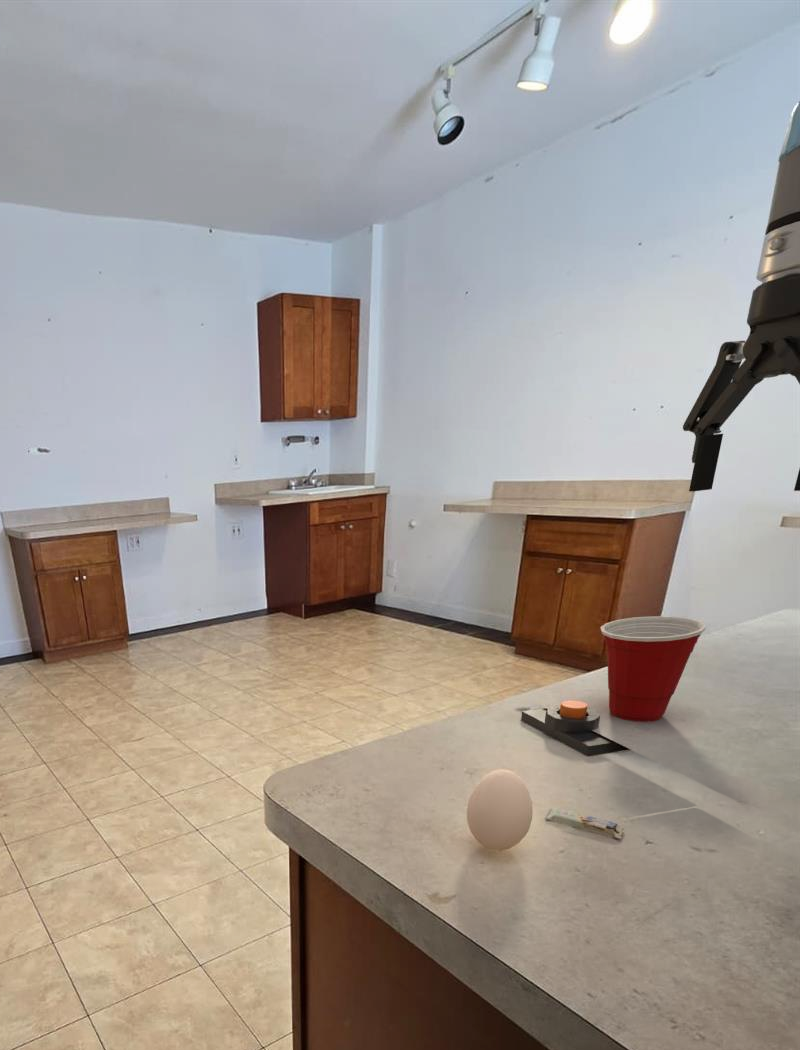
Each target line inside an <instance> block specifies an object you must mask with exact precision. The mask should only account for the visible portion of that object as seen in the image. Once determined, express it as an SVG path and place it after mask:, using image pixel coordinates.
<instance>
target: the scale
mask: <svg viewBox="0 0 800 1050" xmlns="http://www.w3.org/2000/svg"><path fill="white" fill-rule="evenodd" d="M560 706H561V705H555V706H551V707H549V708H546V707H544V708H537V709H530V710H522V711H521V716H520V717H521V718H520V721H521V722H523V723H525V724H527V725H528V726H531V727H532V728H534V729H536V730H537V731H540V732H542V733H543V734H545V735H547V736H549V737H550V738H552V739H554V740H556V741H558V742H560V743H561V744H564V745H565V746H567V747H569V748H570V749H572V750H574V751H577V752H578V753H580V754H582V755H584V756H586V757H593V756H599V755H606V754H612V753H617V752H619V753H620V752H624V751H631V750H632V749H631V748H629V747H627V746H624V745H623V744H620V743H619V742H616V741H614V740H612V739H611V738H608V737H606V736H604V735H603V734H600V733H598V732H596V731H595V730H596V729H597V728H598V727H599V724H600V720H601V715H600V713H599V712H598V711H596V710H594V709H592V708H589V707H587V713H586V717H585V718H568V717H563V716H561V715H559V712H560Z"/></svg>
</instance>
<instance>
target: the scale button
mask: <svg viewBox="0 0 800 1050" xmlns="http://www.w3.org/2000/svg"><path fill="white" fill-rule="evenodd" d="M559 706H560V712H559V715H561V716H563V717H568V718H585V717H586V713H587V708H589V706H588V704H587V703H586V702H584V701H580V700H564V701H561V702H560V705H559Z"/></svg>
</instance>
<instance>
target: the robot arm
mask: <svg viewBox="0 0 800 1050" xmlns="http://www.w3.org/2000/svg"><path fill="white" fill-rule="evenodd" d="M768 214H769V216H768V219H767V224H766V225H767V226H766V229H765V234H764V239H763V242H762V247H761V253H760V258H759V262H758V267H757V272H756V277H755V279H756V280H757V281H758V282H761V283H760V284H758V285H757V286H756V287H755V289H753V290H752V294H751V298H750V304H749V308H748V313H747V317H746V324H747V325H748V327H749V334H748V335H747V336H748V337H747V339H746V340H735V341H725V342H723V343H722V344H721V345H720V347H719V351H718V354H717V358H716V362H715V366H713V369H712V371H711V372H710V374H709V376H708V378H707V380H706V382H705V383H704V385H703V388H702V389H701V391H700V393H699V395H698V396H697V399H696V401H695V402H694V404H693V406H692V408H691V410H690V411H689V414H688V415H687V417H686V419H685V420H684V423H683V425H682V430H683V431H684V432H690V433H693V434H694V435H695V438H694V439H695V440H694V445H693V450H692V456H691V463H692V464H694V465H693V468H692V472H691V473H692V474H691V479H690V485H689V489H688V492H701V491H710V490H713V485H714V480H715V476H716V471H717V466H718V462H719V457H720V451H721V447H722V441H723V436H724V433H722V430H721V429H720V428H721V427H722V426H723V425H724V424H725V422H726V421H727V420H728V419H729V418H730V417H731V415H732V414H733V413H734V412H735V410H736V409H737V408H739V406H740V405H741V403H742V402H743V401H744V399H745V398H746V397H747V396H748V395H749V393H750V392H751V391H752V390H753V388H754V387H755V386H756V385H758V384H760V383H761V382H762V381H763V380H764V379H770V378H775V377H778V376H784V375H791V376H793V377H795V380H796V381H797V382H798V384H799V385H800V100H798V102H797V104H796V105H795V106H794V108H793V110H792V112H791V115H790V118H789V122H788V126H787V128H786V132H785V135H784V139H783V142H782V147H781V151H780V155H779V156H778V168H777V172H776V178H775V184H774V189H773V194H772V199H771V204H770V210H769V213H768ZM743 360H744V361H743ZM742 361H743V362H742ZM793 492H800V468H799V470H798V473H797V477H796V481H795V485H794V488H793Z"/></svg>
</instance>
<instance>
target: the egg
mask: <svg viewBox="0 0 800 1050" xmlns="http://www.w3.org/2000/svg"><path fill="white" fill-rule="evenodd" d="M533 810H534V809H533V800H532V797H531V794H530V791H529V788H528V787H527V784H526V783H525V782H524V780H523V778H521V777H520V776H519V775H518V774H516V773H515V772H513V771H512V770H509V769H504V768H503V769H495V770H492V771H490V772H488V773H487V774H485V775H484V776H483V777H482V778H481V779H480V780H479V781H478V782H477V784H476V786H474V788H473V790H472V791H471V794H470V796H469V798H468V803H467V808H466V821H467V826H468V829H469V831H470V833H471V834H472V837H473V838H474V839H475V840H476V842H478V843H479V845H481V846H482V847H484V848H486V849H488V850H490V851H491V850H492V851H495V852H497V851H500V852H501V851H506V850H510V849H512V848H513V847H515V846H516V845H518V844H519V843H521V841H522V840H523V839H524V838H525V837H526V836H527V834H528V833H529V831H530V828H531V825H532V821H533V814H534V813H533Z"/></svg>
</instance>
